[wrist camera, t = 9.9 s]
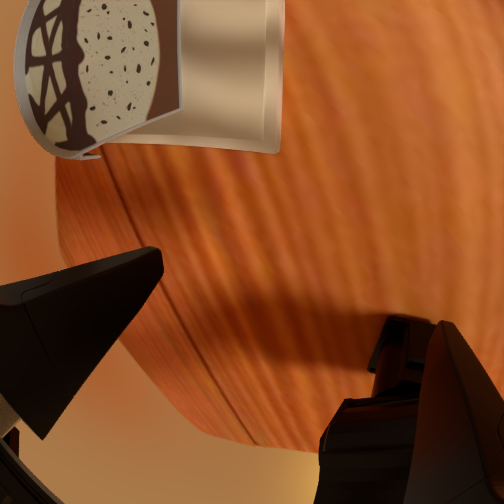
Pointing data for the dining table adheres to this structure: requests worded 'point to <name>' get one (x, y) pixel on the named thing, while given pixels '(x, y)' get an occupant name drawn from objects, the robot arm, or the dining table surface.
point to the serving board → (226, 78)
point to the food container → (96, 70)
